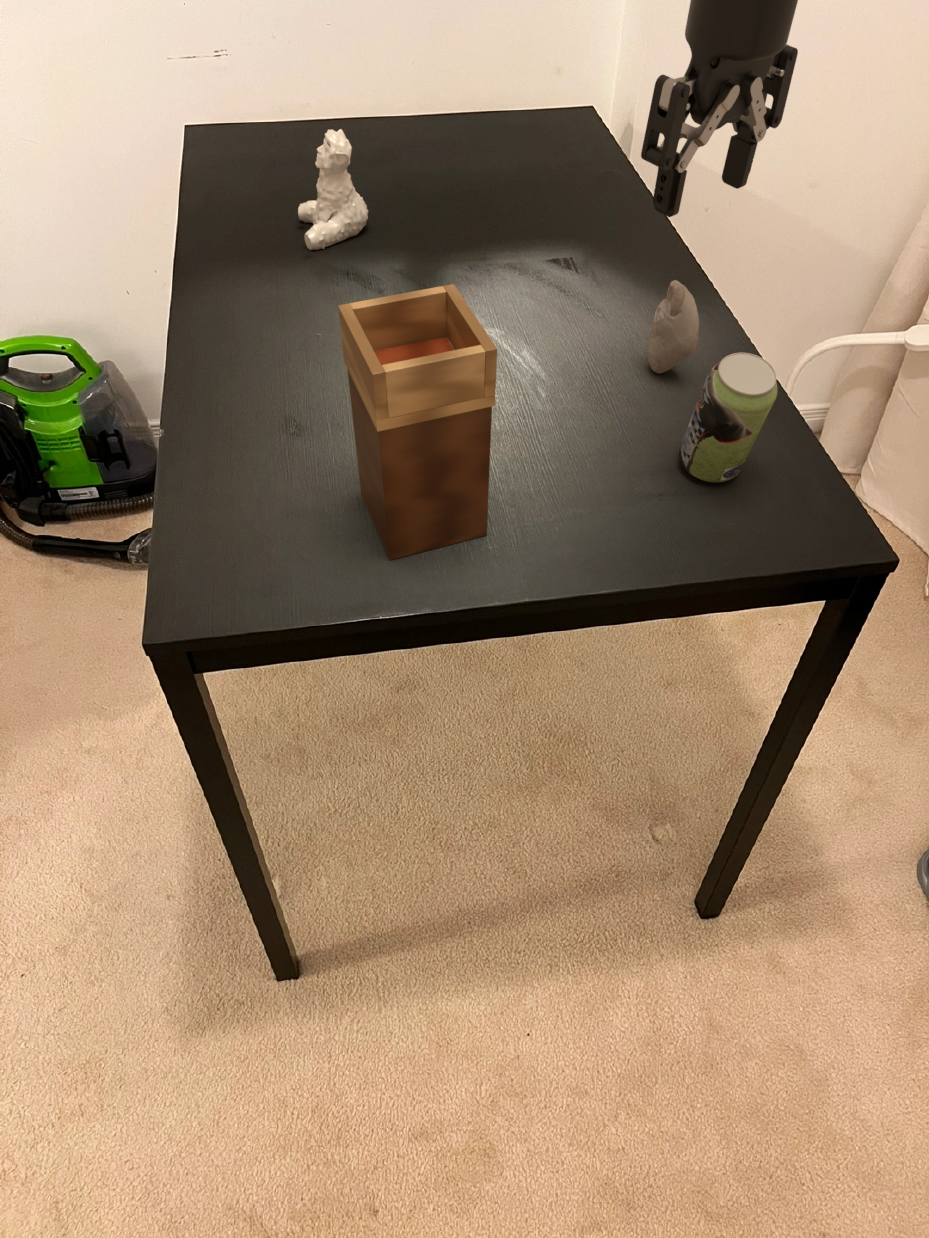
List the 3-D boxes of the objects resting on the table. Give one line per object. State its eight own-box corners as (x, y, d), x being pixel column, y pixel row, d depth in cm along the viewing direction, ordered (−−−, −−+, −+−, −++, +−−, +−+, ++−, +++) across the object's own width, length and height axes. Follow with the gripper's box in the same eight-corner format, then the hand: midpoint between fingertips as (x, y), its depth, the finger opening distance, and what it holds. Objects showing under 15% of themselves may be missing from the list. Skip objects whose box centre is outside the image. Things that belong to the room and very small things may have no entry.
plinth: (452, 471, 83) (452, 341, 72) (487, 535, 77) (492, 405, 67) (360, 493, 81) (346, 362, 70) (389, 560, 75) (378, 430, 65)
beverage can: (714, 439, 86) (746, 331, 77) (762, 485, 82) (801, 376, 73) (661, 457, 84) (687, 349, 75) (707, 505, 80) (740, 396, 71)
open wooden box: (453, 340, 72) (453, 283, 68) (495, 406, 67) (497, 348, 63) (344, 362, 70) (337, 305, 66) (377, 432, 64) (372, 374, 61)
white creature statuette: (297, 217, 114) (283, 117, 105) (362, 209, 115) (354, 111, 106) (307, 252, 108) (293, 151, 99) (376, 244, 110) (368, 143, 100)
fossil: (693, 382, 92) (715, 294, 84) (665, 391, 91) (685, 303, 83) (661, 353, 95) (680, 266, 88) (634, 361, 94) (650, 274, 87)
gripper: (724, 3, 57) (674, 241, 70) (855, -36, 63) (788, 191, 76) (641, -26, 61) (609, 205, 74) (773, -60, 67) (722, 160, 79)
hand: (700, 198), depth 75 cm, fingers open, 8 cm apart
